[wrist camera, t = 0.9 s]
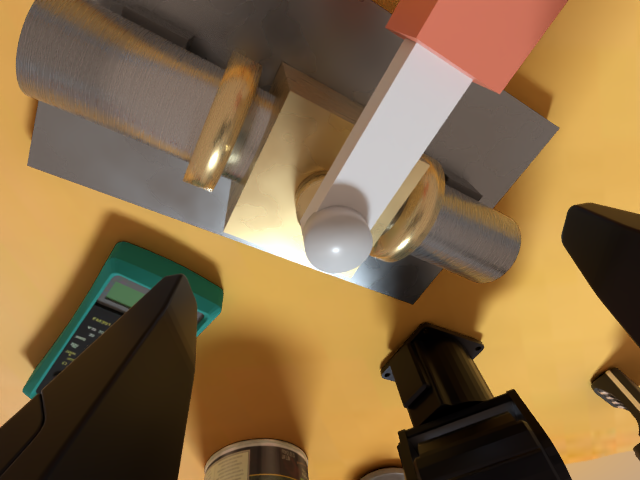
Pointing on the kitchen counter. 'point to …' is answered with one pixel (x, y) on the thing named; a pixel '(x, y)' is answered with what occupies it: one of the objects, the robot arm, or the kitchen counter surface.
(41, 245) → the kitchen counter surface
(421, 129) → the lever
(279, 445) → the coffee can
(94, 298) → the digital multimeter
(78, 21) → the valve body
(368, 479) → the pocket watch
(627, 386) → the battery charger
